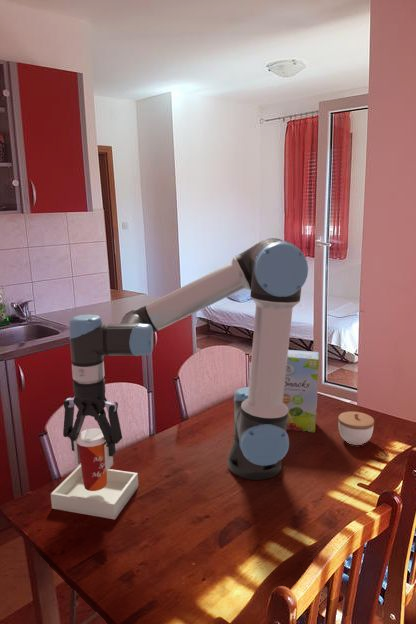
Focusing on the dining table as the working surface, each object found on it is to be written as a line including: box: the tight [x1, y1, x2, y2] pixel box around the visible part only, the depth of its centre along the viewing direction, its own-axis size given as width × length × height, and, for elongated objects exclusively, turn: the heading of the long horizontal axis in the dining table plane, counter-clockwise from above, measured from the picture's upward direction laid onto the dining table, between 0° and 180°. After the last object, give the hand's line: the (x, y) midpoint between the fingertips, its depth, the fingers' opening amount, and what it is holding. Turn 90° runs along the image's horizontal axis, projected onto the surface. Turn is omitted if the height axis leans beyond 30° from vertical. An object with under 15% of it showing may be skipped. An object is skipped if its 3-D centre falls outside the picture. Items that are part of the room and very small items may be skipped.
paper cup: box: [77, 427, 107, 491], centre depth 120 cm, size 8×8×14 cm
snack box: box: [283, 349, 320, 433], centre depth 159 cm, size 22×9×26 cm, turn 77°
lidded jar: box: [337, 411, 375, 446], centre depth 149 cm, size 11×11×9 cm
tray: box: [50, 464, 139, 520], centre depth 122 cm, size 17×14×4 cm
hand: (94, 464), depth 121 cm, fingers closed on paper cup, 8 cm apart
